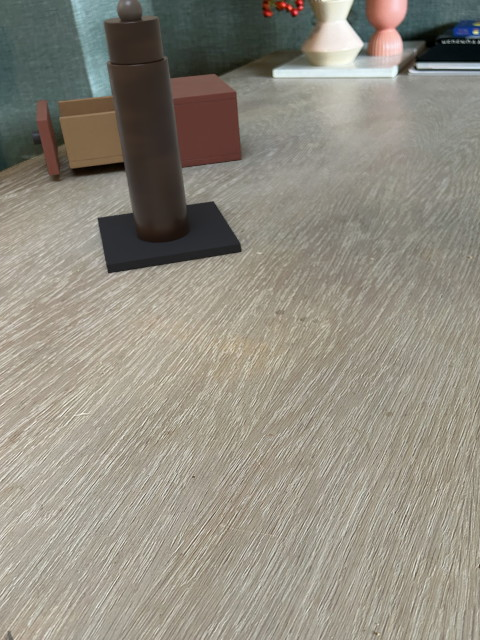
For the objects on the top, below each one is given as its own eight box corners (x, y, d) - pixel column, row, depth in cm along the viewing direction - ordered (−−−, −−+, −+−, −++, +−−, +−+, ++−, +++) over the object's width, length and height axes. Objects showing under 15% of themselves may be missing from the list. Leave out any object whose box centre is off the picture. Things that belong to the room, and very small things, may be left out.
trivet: (108, 273, 58) (106, 264, 58) (98, 225, 68) (97, 217, 68) (241, 251, 61) (240, 243, 60) (214, 208, 71) (213, 200, 70)
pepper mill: (139, 246, 61) (97, 1, 50) (133, 226, 65) (93, -4, 54) (194, 237, 62) (163, -4, 51) (184, 219, 66) (155, -9, 55)
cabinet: (133, 173, 82) (121, 103, 77) (123, 147, 92) (112, 84, 87) (241, 159, 85) (236, 91, 80) (220, 135, 95) (214, 73, 90)
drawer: (39, 177, 79) (25, 121, 76) (39, 151, 88) (27, 101, 85) (154, 162, 82) (146, 108, 79) (143, 139, 91) (135, 90, 88)
